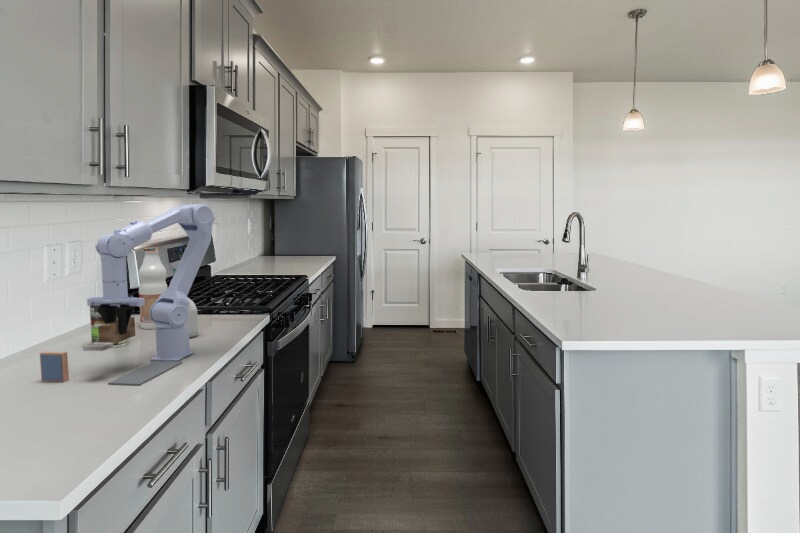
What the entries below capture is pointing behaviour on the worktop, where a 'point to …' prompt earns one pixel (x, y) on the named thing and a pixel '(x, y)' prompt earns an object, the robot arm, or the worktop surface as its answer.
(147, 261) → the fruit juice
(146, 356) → the worktop surface
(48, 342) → the worktop surface
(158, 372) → the mat
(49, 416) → the worktop surface
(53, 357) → the tile
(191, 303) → the soap bottle
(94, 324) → the coffee can
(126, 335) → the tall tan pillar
